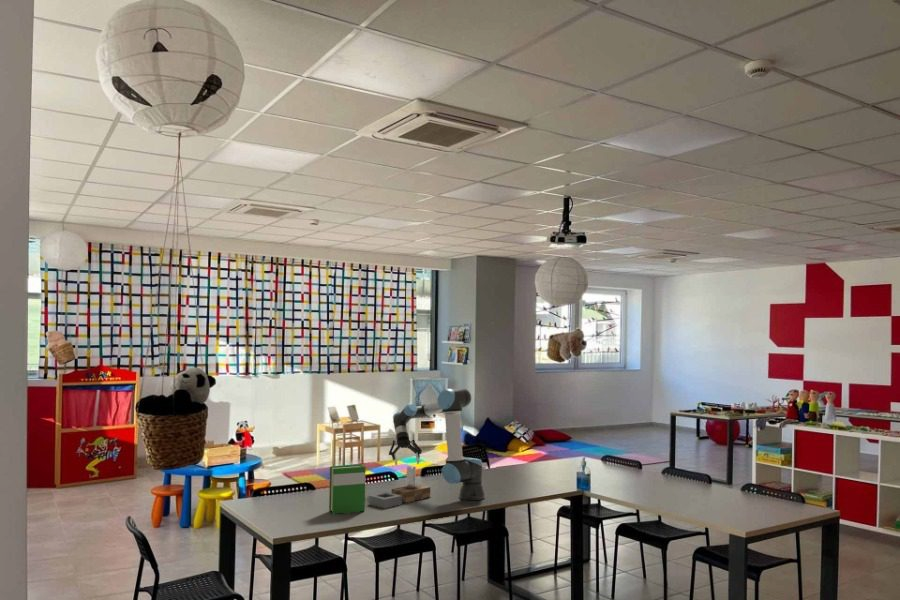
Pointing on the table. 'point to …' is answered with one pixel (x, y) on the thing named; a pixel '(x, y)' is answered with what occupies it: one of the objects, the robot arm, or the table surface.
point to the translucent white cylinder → (411, 477)
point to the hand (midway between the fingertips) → (407, 463)
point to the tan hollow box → (412, 493)
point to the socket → (385, 500)
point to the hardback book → (347, 489)
